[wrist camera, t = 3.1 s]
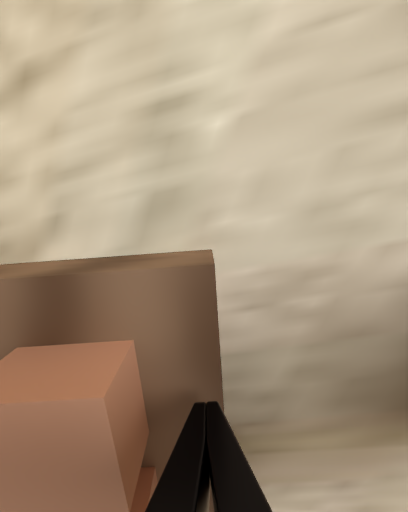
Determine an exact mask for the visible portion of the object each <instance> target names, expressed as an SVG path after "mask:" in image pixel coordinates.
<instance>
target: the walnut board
mask: <svg viewBox="0 0 408 512" xmlns="http://www.w3.org/2000/svg"><path fill="white" fill-rule="evenodd" d="M125 340H134V346H135V352H136V357H137V363H138V369H139V375H140V381H141V387H142V393H143V399H144V404H145V410H146V416H147V422H148V428H149V435H148V439H147V444H146V448H145V452H144V456H143V460H142V464H141V467H155V469H156V475H157V481H159V479H160V477H161V475H162V472H163V470H164V468H165V466H166V464H167V461H168V459H169V457H170V455H171V453H172V450H173V448H174V446H175V444H176V442H177V439H178V437H179V435H180V433H181V431H182V428H183V426H184V424H185V422H186V420H187V417H188V415H189V413H190V411H191V409H192V406H193V404H194V403H195V402H205V403H207V402H208V401H218V403H219V404H220V406H221V409H222V411H223V413H224V405H223V389H222V374H221V358H220V343H219V327H218V311H217V296H216V280H215V265H214V259H213V253H212V250H200V251H186V252H172V253H158V254H144V255H130V256H116V257H102V258H88V259H74V260H60V261H46V262H32V263H19V264H5V265H0V360H1V359H3V358H4V357H5V356H7V355H8V354H9V353H11V352H12V351H13V350H14V349H16V348H18V347H33V346H49V345H64V344H79V343H94V342H110V341H125ZM209 512H214V509H213V501H212V493H211V483H210V501H209Z"/></svg>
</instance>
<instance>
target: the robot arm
mask: <svg viewBox="0 0 408 512" xmlns="http://www.w3.org/2000/svg"><path fill="white" fill-rule="evenodd" d="M210 483H211V493H212V501H213V509H214V512H272V510H271V508H270V506H269V504H268V502H267V500H266V498H265V496H264V494H263V492H262V490H261V488H260V486H259V484H258V482H257V480H256V478H255V476H254V474H253V471H252V469H251V467H250V465H249V463H248V461H247V459H246V457H245V455H244V453H243V451H242V449H241V447H240V445H239V443H238V441H237V439H236V437H235V435H234V433H233V431H232V429H231V427H230V425H229V423H228V421H227V419H226V417H225V415H224V413H223V411H222V409H221V406H220V404H219V403H218V401H208V402H207V403H205V402H195V403H194V404H193V406H192V409H191V411H190V413H189V415H188V417H187V420H186V422H185V424H184V426H183V428H182V431H181V433H180V435H179V437H178V439H177V442H176V444H175V446H174V448H173V450H172V453H171V455H170V457H169V459H168V461H167V464H166V466H165V468H164V470H163V472H162V475H161V477H160V479H159V481H158V483H157V486H156V488H155V490H154V492H153V494H152V497H151V499H150V501H149V503H148V506H147V508H146V510H145V512H209V501H210Z"/></svg>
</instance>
